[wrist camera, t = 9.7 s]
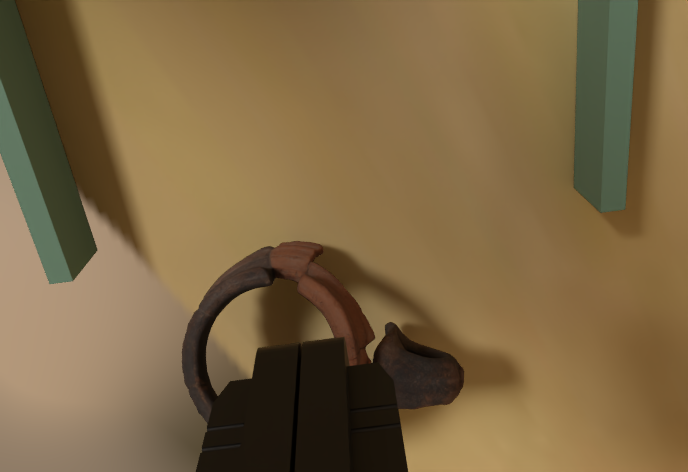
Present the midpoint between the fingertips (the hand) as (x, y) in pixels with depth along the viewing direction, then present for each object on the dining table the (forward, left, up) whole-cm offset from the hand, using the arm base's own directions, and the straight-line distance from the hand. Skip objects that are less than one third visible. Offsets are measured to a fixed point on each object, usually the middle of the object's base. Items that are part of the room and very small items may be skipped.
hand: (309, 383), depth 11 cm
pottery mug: (+11, 0, -18) cm, 21 cm away
